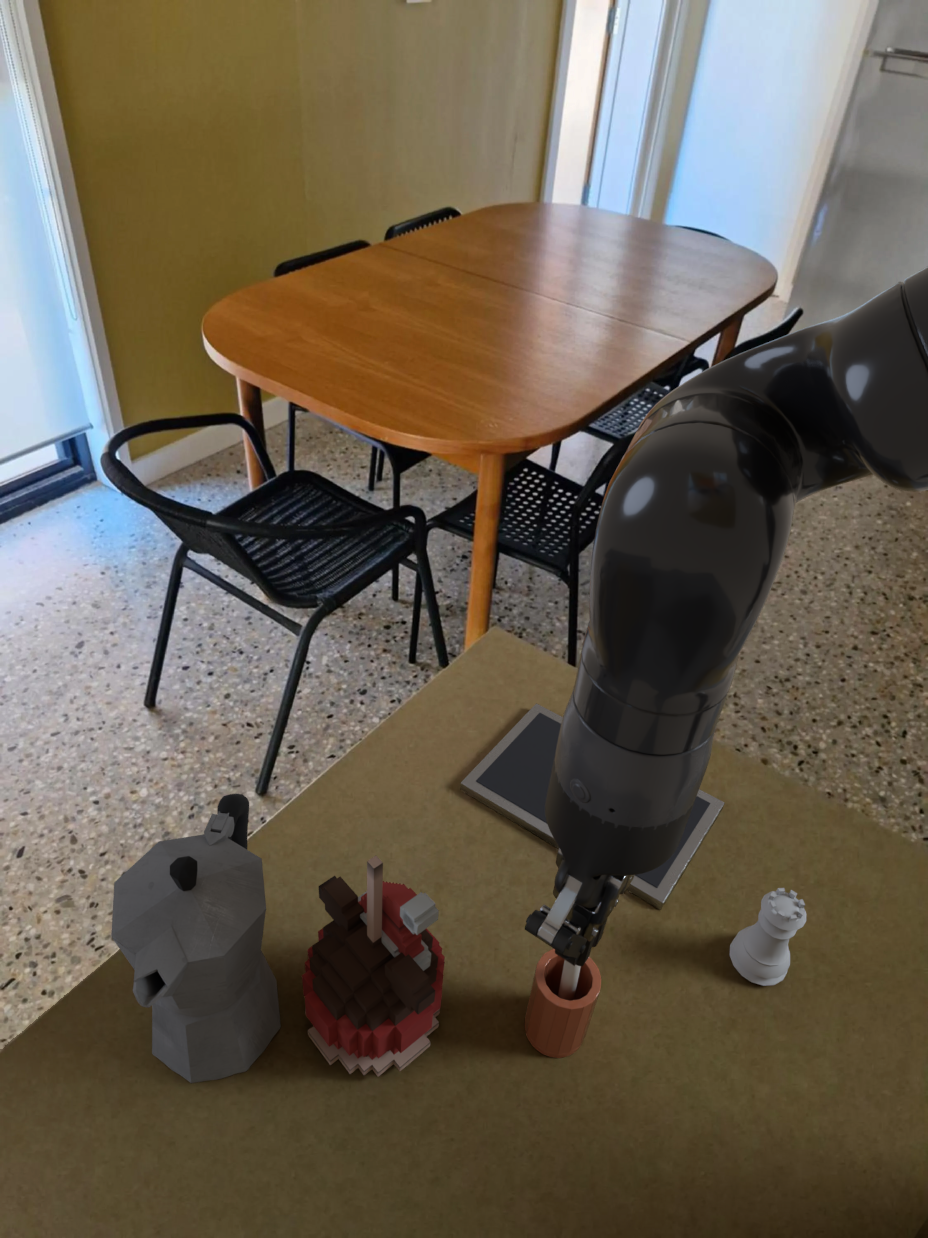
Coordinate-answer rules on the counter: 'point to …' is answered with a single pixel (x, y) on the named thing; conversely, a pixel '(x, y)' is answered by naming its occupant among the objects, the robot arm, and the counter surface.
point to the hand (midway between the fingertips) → (576, 944)
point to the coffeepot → (201, 947)
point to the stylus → (569, 981)
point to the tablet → (521, 784)
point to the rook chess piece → (769, 939)
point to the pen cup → (560, 1007)
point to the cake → (374, 975)
